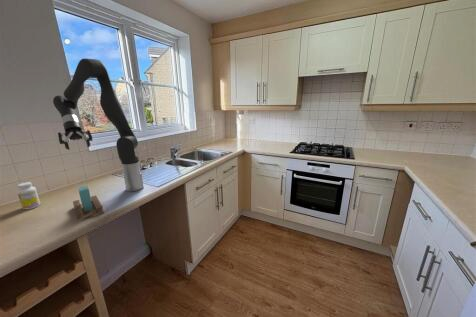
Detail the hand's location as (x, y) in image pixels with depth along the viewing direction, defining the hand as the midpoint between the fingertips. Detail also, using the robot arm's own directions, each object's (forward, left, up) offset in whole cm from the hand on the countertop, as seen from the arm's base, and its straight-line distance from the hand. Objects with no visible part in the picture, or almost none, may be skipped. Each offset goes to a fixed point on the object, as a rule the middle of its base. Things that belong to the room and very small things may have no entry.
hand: (78, 147), depth 107 cm
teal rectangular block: (+3, +19, -28) cm, 33 cm away
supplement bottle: (+24, -6, -29) cm, 38 cm away
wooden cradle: (+3, +19, -29) cm, 34 cm away
